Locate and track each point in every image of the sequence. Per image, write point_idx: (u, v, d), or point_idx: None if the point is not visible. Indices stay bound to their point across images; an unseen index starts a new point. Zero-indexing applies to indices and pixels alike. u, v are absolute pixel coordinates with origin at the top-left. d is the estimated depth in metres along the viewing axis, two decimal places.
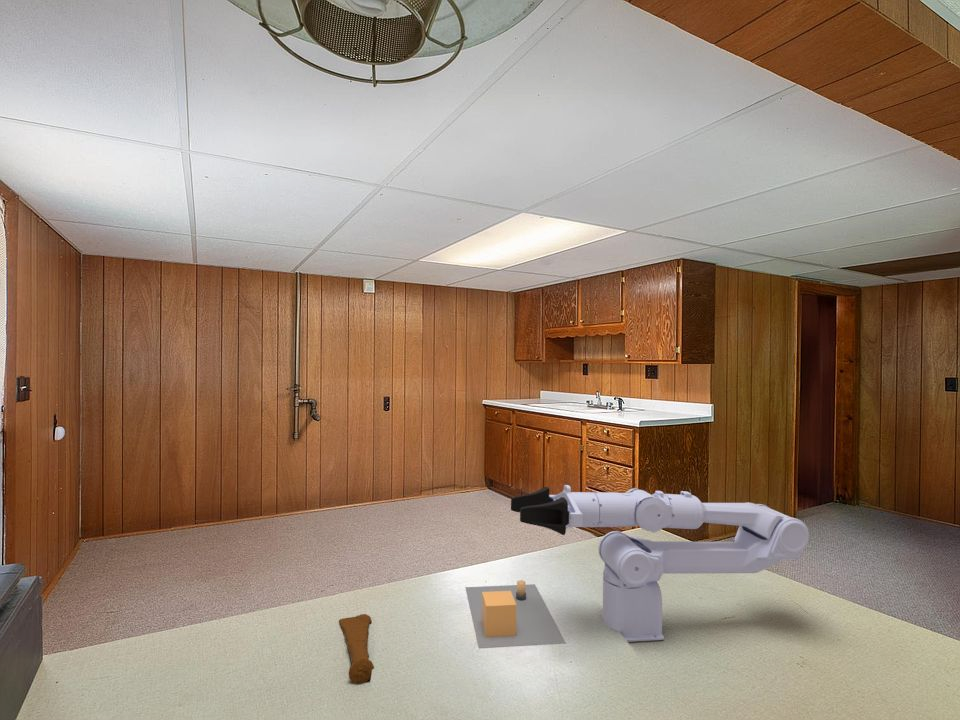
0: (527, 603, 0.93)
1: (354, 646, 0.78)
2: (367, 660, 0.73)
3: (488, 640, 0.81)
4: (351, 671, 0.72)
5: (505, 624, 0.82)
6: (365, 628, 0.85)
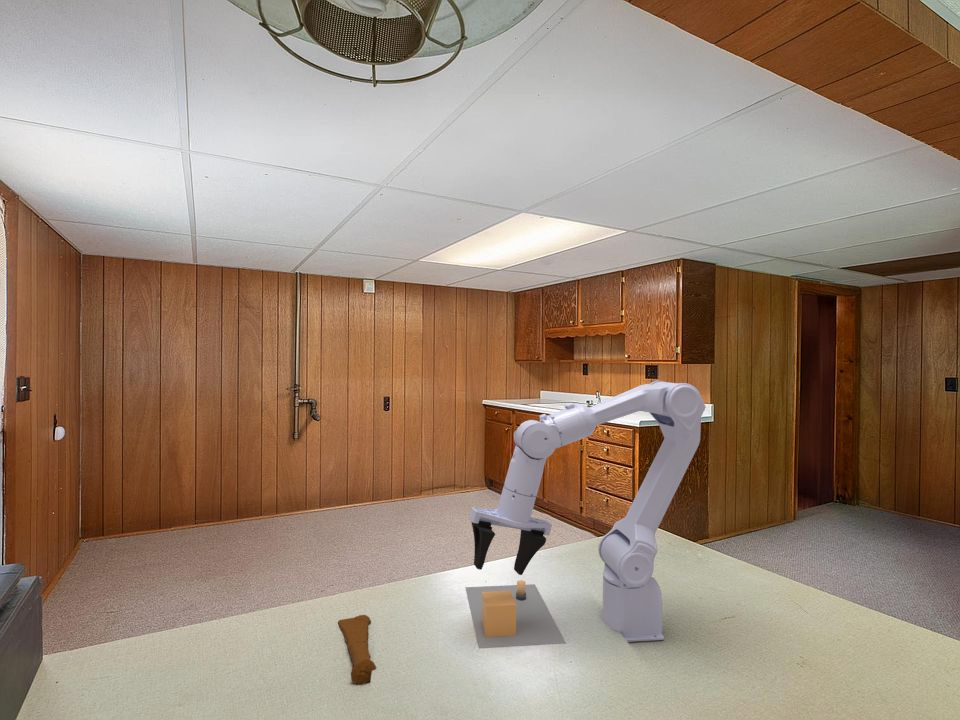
0: (527, 603, 0.93)
1: (355, 647, 0.78)
2: (369, 661, 0.73)
3: (488, 640, 0.81)
4: (353, 672, 0.72)
5: (505, 624, 0.82)
6: (365, 629, 0.85)
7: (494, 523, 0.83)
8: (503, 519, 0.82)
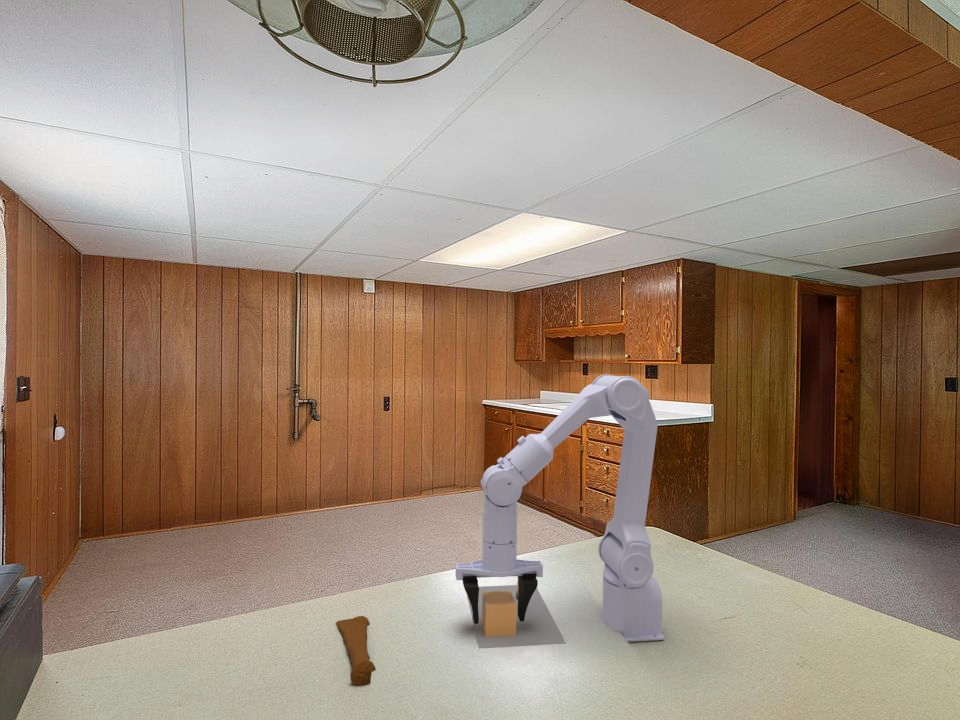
0: None
1: (354, 648, 0.78)
2: (369, 662, 0.73)
3: (488, 640, 0.81)
4: (353, 673, 0.72)
5: (505, 624, 0.82)
6: (364, 630, 0.84)
7: (480, 576, 0.84)
8: (484, 571, 0.82)
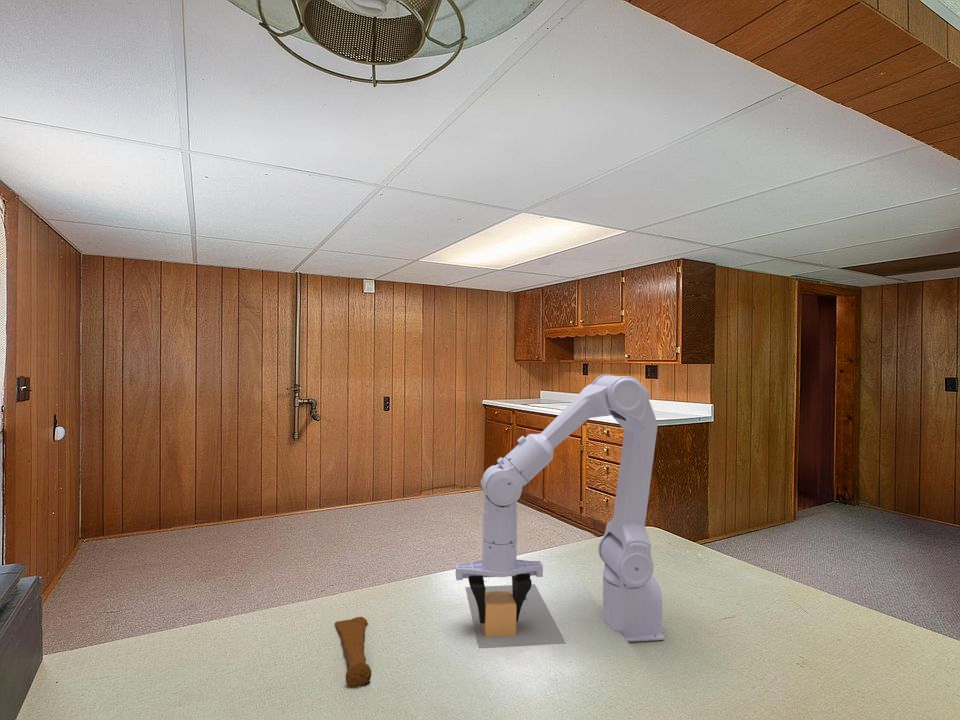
0: (527, 603, 0.93)
1: (351, 649, 0.77)
2: (364, 664, 0.72)
3: (488, 640, 0.81)
4: (348, 675, 0.71)
5: (505, 624, 0.82)
6: (361, 631, 0.84)
7: (480, 576, 0.84)
8: (485, 571, 0.82)
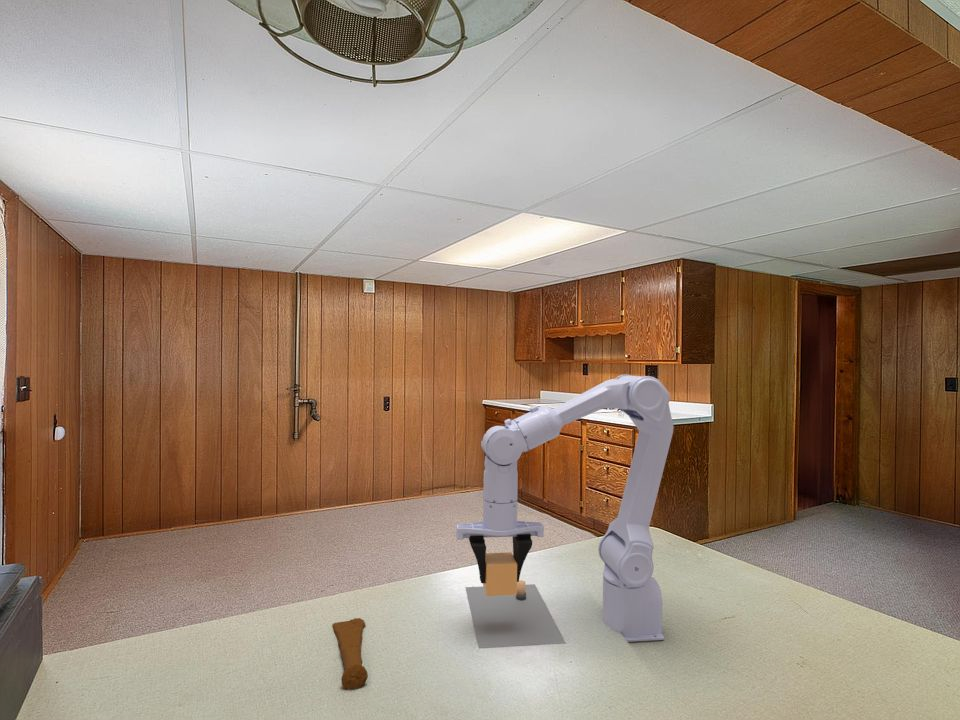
0: (527, 603, 0.93)
1: (347, 651, 0.77)
2: (360, 666, 0.72)
3: (488, 640, 0.81)
4: (344, 677, 0.71)
5: (506, 583, 0.82)
6: (359, 633, 0.84)
7: (481, 536, 0.84)
8: (485, 531, 0.82)
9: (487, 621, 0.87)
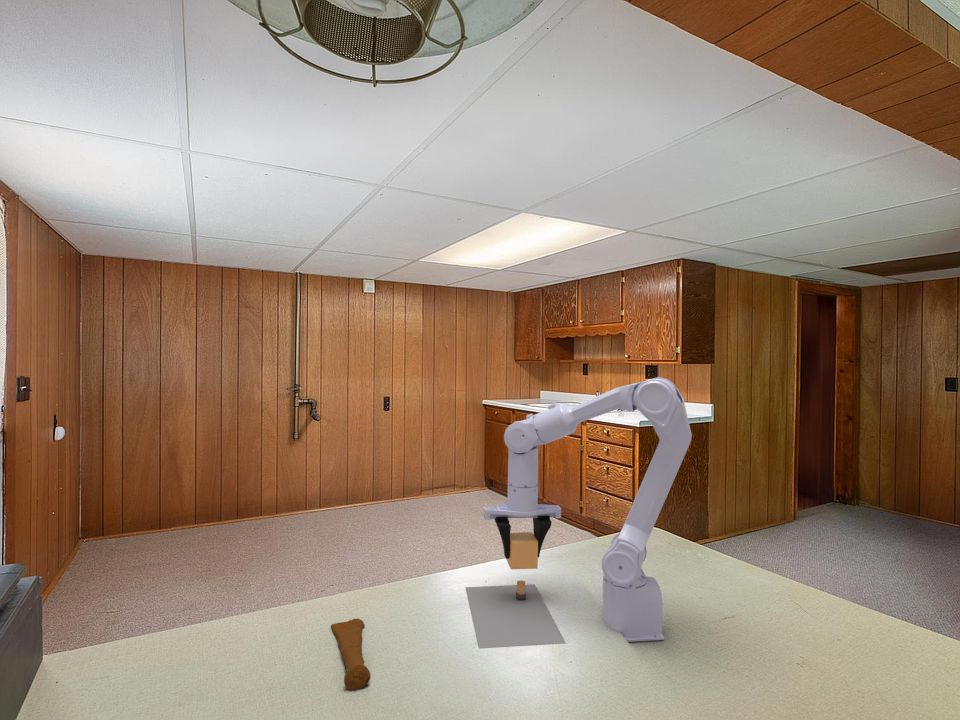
0: (527, 603, 0.93)
1: (349, 652, 0.77)
2: (363, 666, 0.72)
3: (488, 640, 0.81)
4: (347, 678, 0.71)
5: (528, 558, 0.93)
6: (358, 633, 0.83)
7: (506, 516, 0.95)
8: (510, 512, 0.93)
9: (487, 621, 0.87)
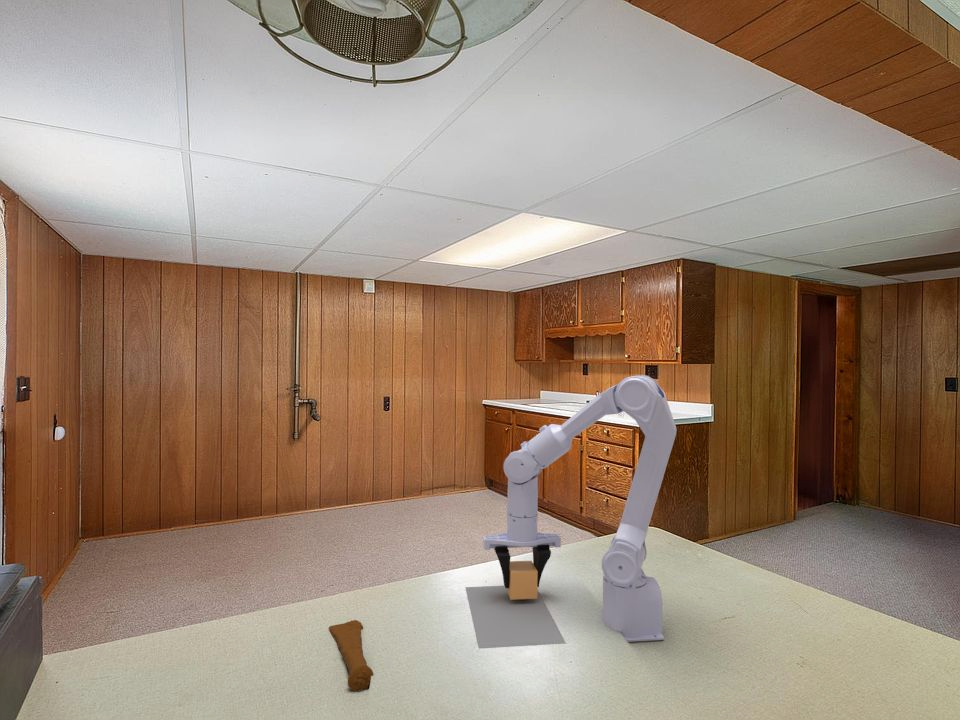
0: (527, 603, 0.93)
1: (350, 653, 0.76)
2: (367, 667, 0.71)
3: (488, 640, 0.81)
4: (350, 679, 0.70)
5: (527, 588, 0.93)
6: (358, 634, 0.83)
7: (505, 546, 0.95)
8: (509, 542, 0.93)
9: (487, 621, 0.87)
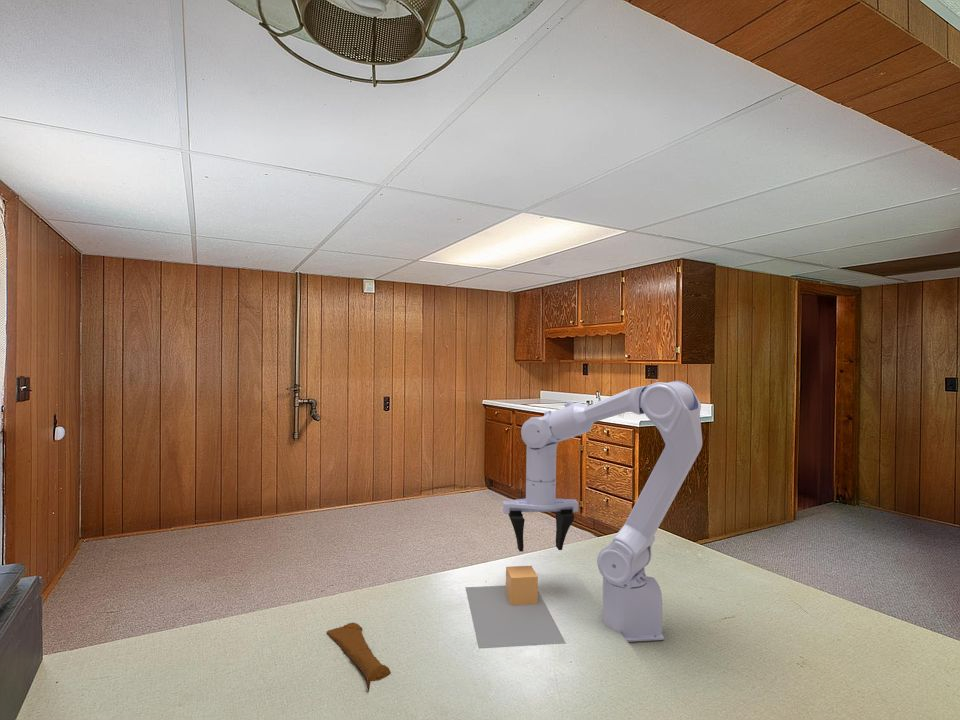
0: None
1: (361, 655, 0.76)
2: (384, 666, 0.72)
3: (488, 640, 0.81)
4: (369, 679, 0.70)
5: (528, 594, 0.93)
6: (361, 636, 0.82)
7: (524, 510, 0.97)
8: (529, 506, 0.95)
9: (487, 621, 0.87)
